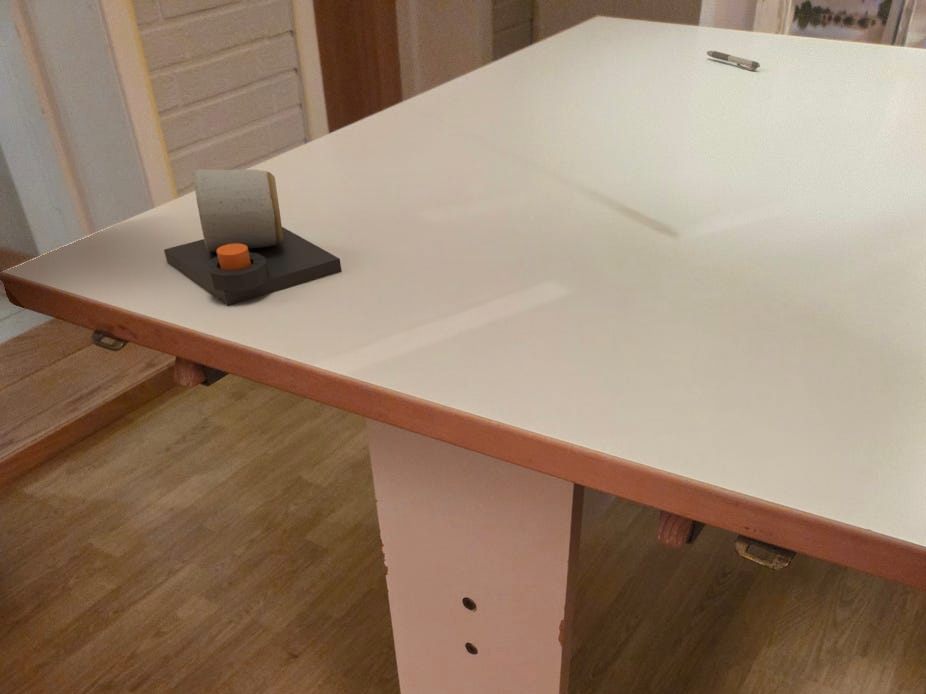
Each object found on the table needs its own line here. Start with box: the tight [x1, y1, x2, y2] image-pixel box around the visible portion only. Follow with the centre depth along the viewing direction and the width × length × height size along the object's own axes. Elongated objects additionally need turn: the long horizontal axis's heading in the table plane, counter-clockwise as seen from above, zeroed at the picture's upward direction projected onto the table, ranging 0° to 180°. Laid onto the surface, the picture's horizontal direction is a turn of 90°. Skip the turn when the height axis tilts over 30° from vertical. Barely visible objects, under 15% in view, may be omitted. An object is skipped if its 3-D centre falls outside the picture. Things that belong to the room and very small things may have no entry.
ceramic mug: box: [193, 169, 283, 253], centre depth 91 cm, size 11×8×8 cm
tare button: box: [217, 243, 251, 271], centre depth 85 cm, size 3×3×2 cm
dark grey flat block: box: [163, 226, 342, 307], centre depth 91 cm, size 16×14×3 cm
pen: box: [706, 50, 761, 71], centre depth 153 cm, size 1×14×1 cm, turn 29°
